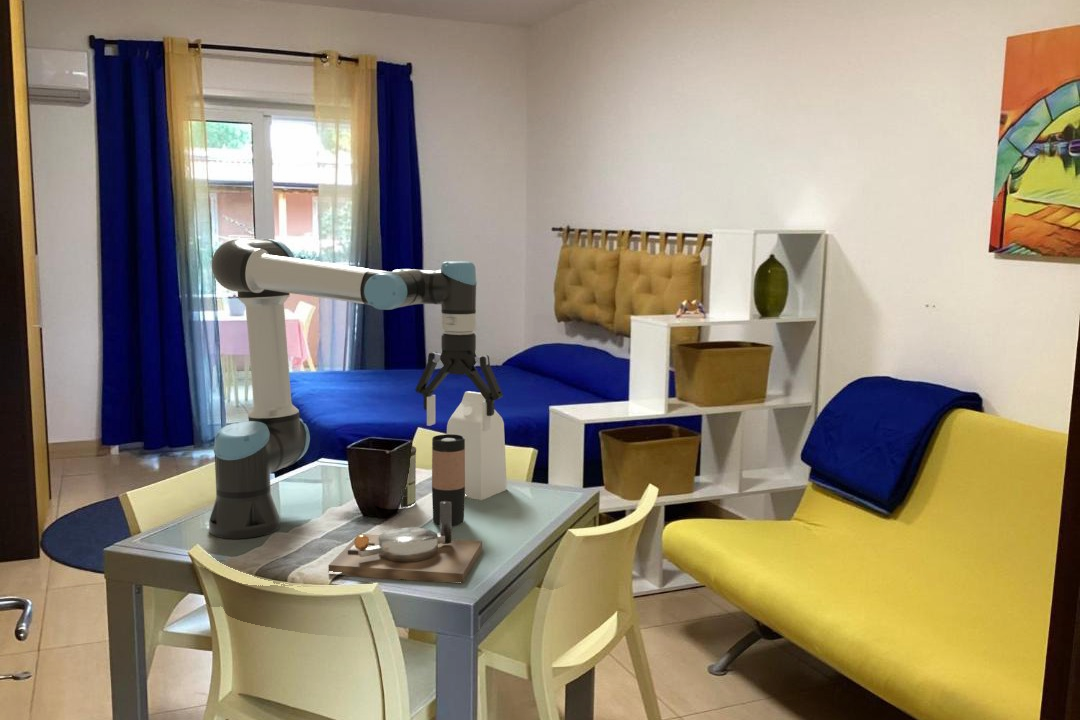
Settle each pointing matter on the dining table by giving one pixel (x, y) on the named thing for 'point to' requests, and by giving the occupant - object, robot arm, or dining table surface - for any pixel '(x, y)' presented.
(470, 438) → the milk
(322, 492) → the dining table surface
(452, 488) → the travel mug
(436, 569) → the stand
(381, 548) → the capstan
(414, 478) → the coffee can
